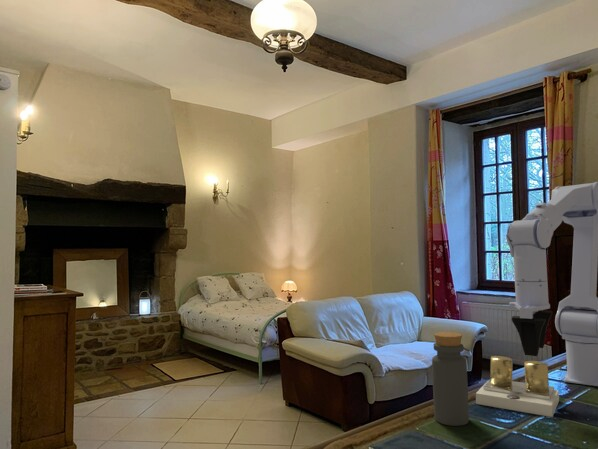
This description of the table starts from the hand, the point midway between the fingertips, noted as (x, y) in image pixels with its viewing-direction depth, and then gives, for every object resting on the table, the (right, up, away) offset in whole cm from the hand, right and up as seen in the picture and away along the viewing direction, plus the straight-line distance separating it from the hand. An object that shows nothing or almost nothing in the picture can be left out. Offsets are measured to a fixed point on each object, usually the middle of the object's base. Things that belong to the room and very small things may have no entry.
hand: (534, 351), depth 87 cm
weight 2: (0, -7, -1) cm, 7 cm away
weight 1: (-5, -8, +3) cm, 10 cm away
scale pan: (-2, -8, +1) cm, 9 cm away
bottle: (-19, -10, -8) cm, 23 cm away
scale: (-3, -10, 0) cm, 10 cm away
